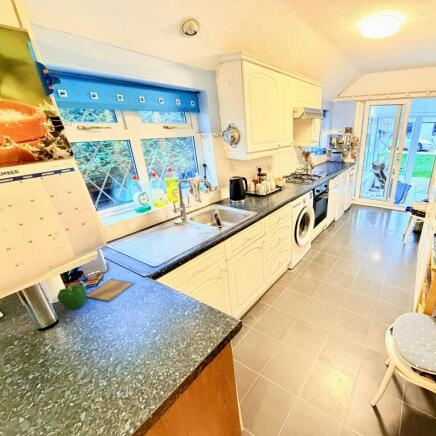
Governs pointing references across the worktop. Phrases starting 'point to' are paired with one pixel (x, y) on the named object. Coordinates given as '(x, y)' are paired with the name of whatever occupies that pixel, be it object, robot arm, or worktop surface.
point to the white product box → (95, 265)
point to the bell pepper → (72, 296)
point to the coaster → (109, 290)
